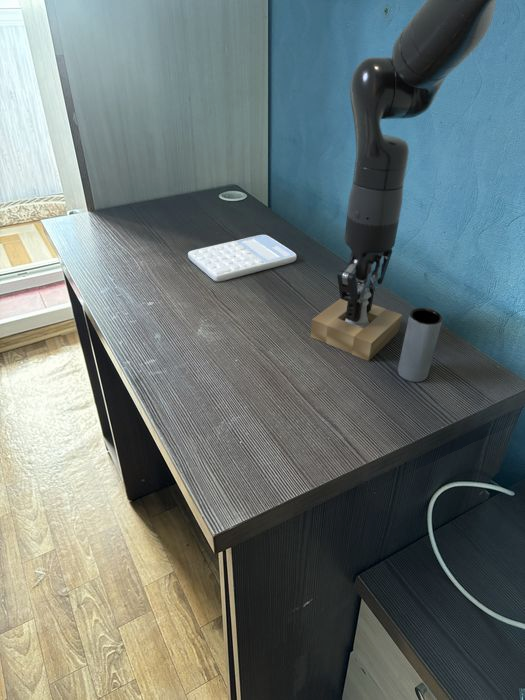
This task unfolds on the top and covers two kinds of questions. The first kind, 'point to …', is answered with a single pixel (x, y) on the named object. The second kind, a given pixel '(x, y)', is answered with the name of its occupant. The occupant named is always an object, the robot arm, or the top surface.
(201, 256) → the calculator
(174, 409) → the top surface
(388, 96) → the robot arm
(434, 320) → the planter
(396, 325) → the holder
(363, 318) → the rook chess piece
